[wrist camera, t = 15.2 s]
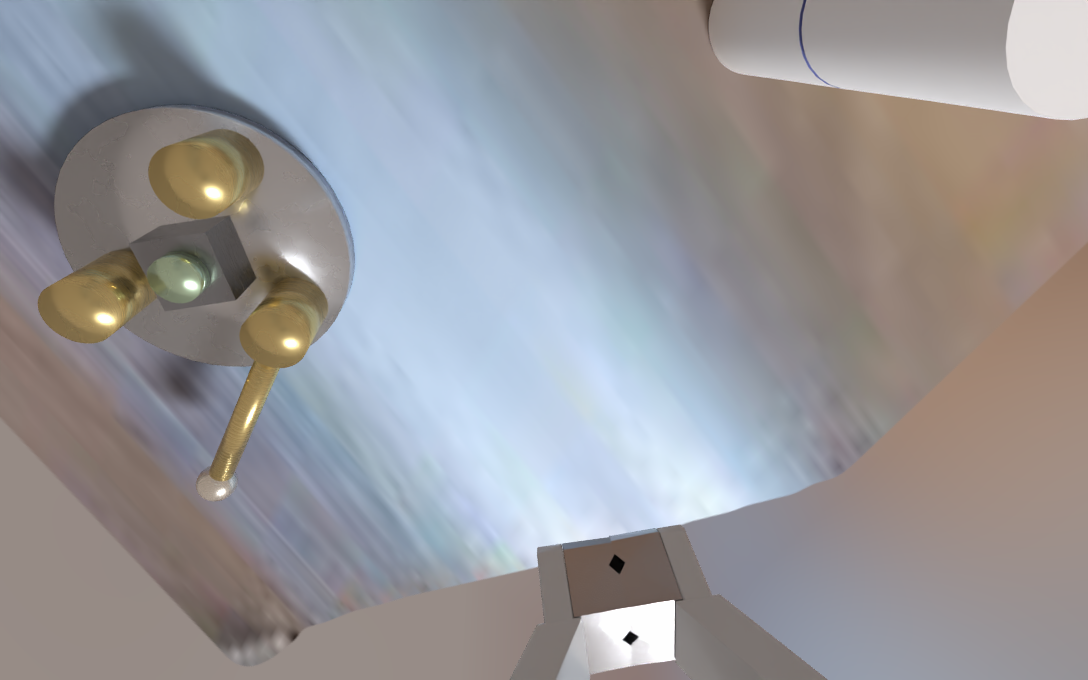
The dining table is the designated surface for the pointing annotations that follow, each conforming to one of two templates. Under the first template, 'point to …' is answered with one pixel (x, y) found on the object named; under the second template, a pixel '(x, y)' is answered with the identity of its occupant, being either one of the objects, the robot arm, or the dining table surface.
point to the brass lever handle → (264, 370)
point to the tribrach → (190, 231)
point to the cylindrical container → (917, 49)
